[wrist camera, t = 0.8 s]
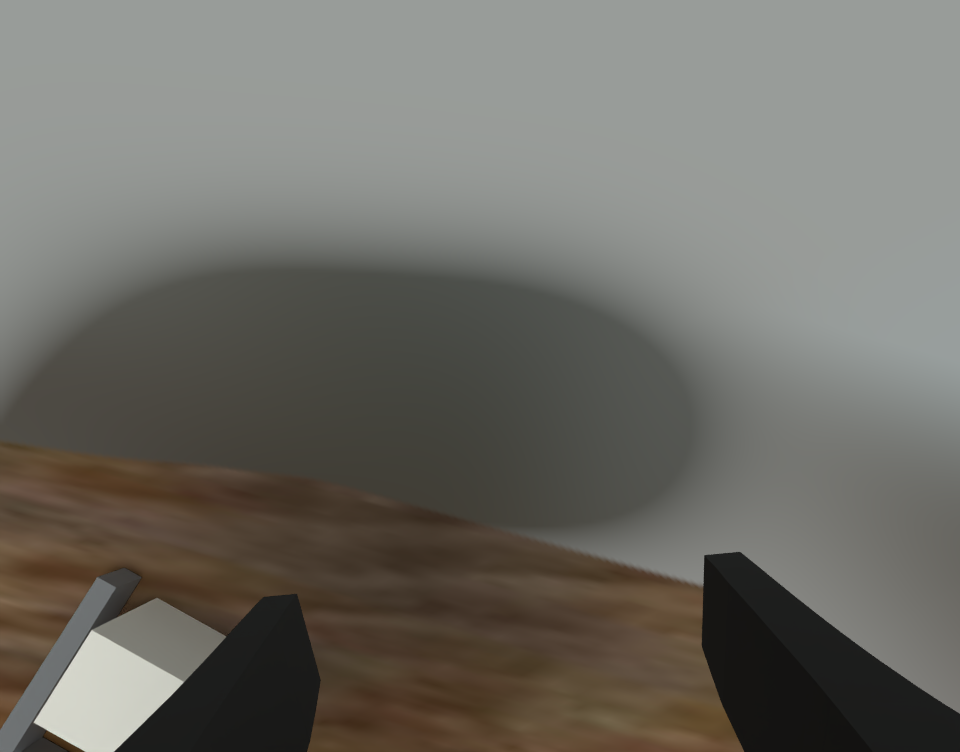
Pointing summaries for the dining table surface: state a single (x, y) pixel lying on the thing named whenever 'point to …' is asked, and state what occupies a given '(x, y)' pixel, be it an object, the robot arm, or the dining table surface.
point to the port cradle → (64, 661)
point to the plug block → (125, 675)
